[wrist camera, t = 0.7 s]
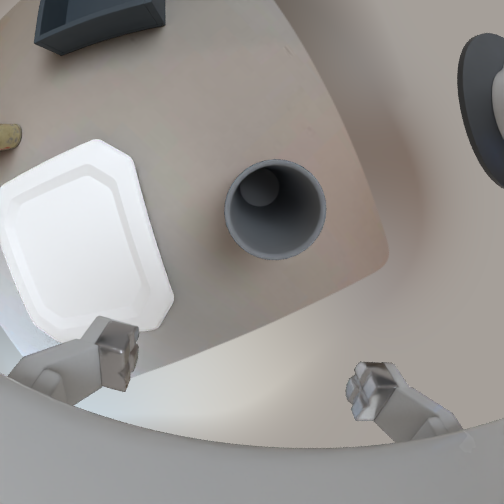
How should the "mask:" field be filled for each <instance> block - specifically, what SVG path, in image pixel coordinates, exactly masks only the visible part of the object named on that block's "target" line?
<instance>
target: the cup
mask: <svg viewBox="0 0 504 504" xmlns="http://www.w3.org/2000/svg"><path fill="white" fill-rule="evenodd" d="M224 215H225V221H226V225H227V228H228V230H229V233H230V234H231V236H232V238H233V239H234V241H235V242H236V243H237V244H238V245H239V246H240V247H241V248H242V249H243V250H245V251H246V252H248V253H249V254H251V255H254V256H256V257H258V258H262V259H267V260H281V259H287V258H290V257H293V256H296V255H298V254H300V253H301V252H303V251H305V250H306V249H307V248H308V247H309V246H311V245H312V244H313V242H314V241H315V240H316V239H317V237H318V236H319V234H320V232H321V230H322V228H323V225H324V222H325V218H326V200H325V196H324V193H323V190H322V188H321V186H320V184H319V182H318V181H317V180H316V178H315V177H314V176H313V175H312V174H311V173H310V172H309V171H308V170H306V169H305V168H304V167H302V166H300V165H298V164H296V163H293V162H290V161H286V160H276V159H274V160H266V161H262V162H259V163H256V164H254V165H252V166H250V167H249V168H247V169H245V170H244V171H243V172H242V173H241V174H240V175H239V176H238V177H237V178H236V179H235V181H234V182H233V183H232V185H231V187H230V189H229V191H228V193H227V197H226V201H225V211H224Z"/></svg>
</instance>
